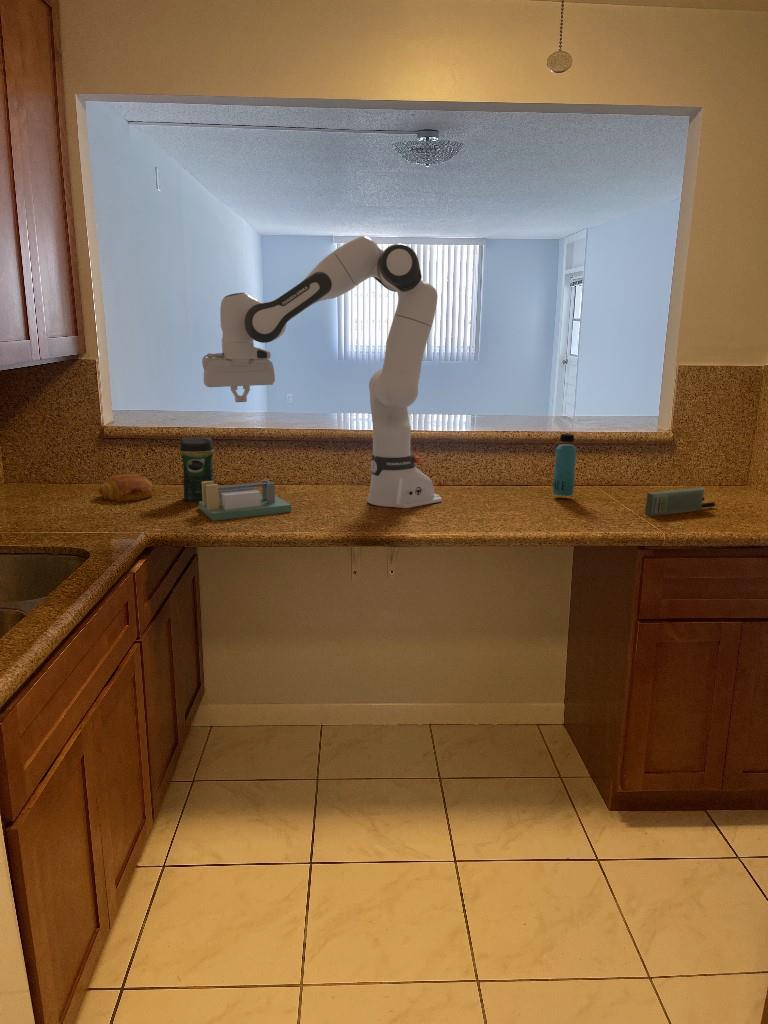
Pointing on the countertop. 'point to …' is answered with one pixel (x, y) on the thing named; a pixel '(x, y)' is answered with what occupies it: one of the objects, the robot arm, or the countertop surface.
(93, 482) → the countertop surface
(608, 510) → the countertop surface
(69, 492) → the countertop surface
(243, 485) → the retention strap
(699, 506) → the handheld radio
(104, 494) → the croissant
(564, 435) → the beverage bottle
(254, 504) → the board
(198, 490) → the coffee jar
